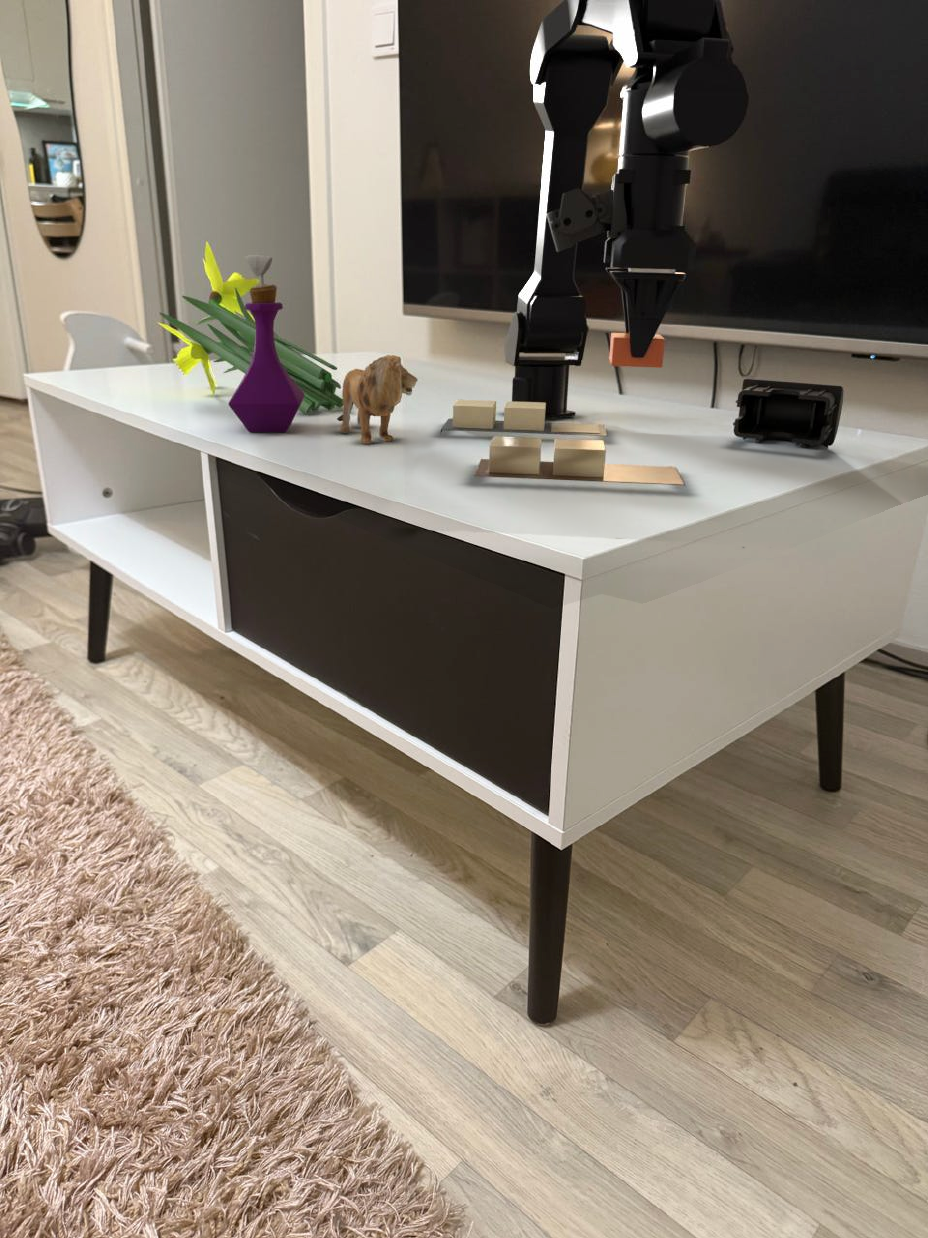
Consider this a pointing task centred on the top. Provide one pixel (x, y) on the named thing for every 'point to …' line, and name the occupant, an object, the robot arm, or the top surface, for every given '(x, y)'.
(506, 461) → the word board
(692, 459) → the top surface
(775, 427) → the end cap
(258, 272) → the perfume bottle
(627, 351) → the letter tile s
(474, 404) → the word board
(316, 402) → the daffodil flowers
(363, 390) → the lion figurine
